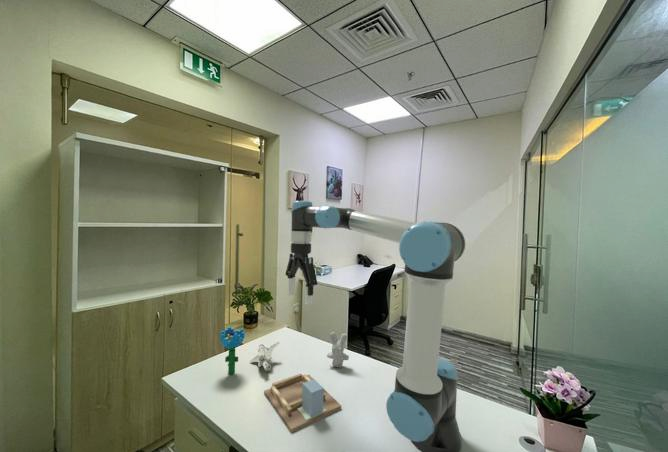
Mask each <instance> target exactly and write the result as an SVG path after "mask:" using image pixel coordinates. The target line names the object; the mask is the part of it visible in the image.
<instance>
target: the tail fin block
mask: <svg viewBox="0 0 668 452" xmlns="http://www.w3.org/2000/svg"><path fill="white" fill-rule="evenodd" d="M324 389H325V388H324V387H323V386H322V385H321V384H320V383H319V382H318V381H317V380H316V379H314V378H313V380H310V381H307V382H305V383H303V388H302V407H303V409H304V410H305V411H306V412H307V413H308V415H309V416H310V417H313V416H316V415H318V414H320V413H322V412H323V392H324Z"/></svg>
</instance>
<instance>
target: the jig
mask: <svg viewBox="0 0 668 452" xmlns="http://www.w3.org/2000/svg"><path fill="white" fill-rule="evenodd" d="M313 379H314V378H313V377H312V376H311V375H310V374H307V375H306V374H302V373H299V374H295V375H293V376H291V377H288V378H284V379H281V380H279V381H276V382H273V383H272V385H271V386H270V388H268V389H265V390H264V392H263V394H264V396H265V397H266V399H267V400H268V402H269V403H270V404H271V405H270V406H272V408H273V409H274V410H275V412H276V413H277V415H278V417H279V418H280V420H281V421H282V422H283V424H284V425H285V426H286V428H287V429H288V431H289V433H291V434H292V433H294V432H296V431H298V430H301V429H302V428H304V427H307V426H309V425H311V424H313V423H315V422H317V421H320V420H321V419H323V418H326V417H328V416H329V415H331V414H333V413H335V412H338V411H340V410H342V405H341V404H340V403H339V402H338V401H337V400H336V399H335V398H334V397H333V396H332V395H331V394H330V393H329V392H328V391H326V389H325V388H324V392H323V412H322V413H320V414H318V415H316V416H313V417H310V416H309V415H308V413H307V412H306V411H305V410H304V409H303V407H302V388H303V383H305V382H307V381H310V380H313Z"/></svg>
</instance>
